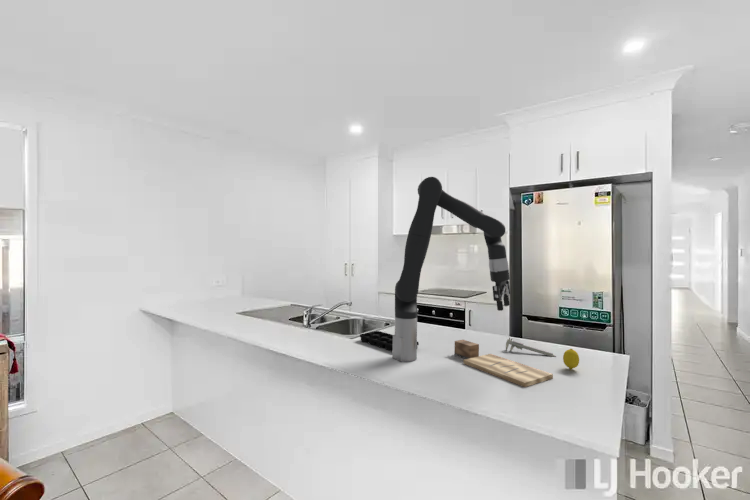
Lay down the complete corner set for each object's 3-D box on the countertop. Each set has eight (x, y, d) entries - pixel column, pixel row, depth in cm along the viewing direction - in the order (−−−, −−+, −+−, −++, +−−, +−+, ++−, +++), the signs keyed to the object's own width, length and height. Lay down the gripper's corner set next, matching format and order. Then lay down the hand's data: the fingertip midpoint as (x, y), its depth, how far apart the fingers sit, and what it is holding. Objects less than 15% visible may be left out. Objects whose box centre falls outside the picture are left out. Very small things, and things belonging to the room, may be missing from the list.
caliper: (505, 351, 167) (505, 337, 167) (505, 350, 168) (506, 336, 168) (556, 357, 158) (556, 342, 158) (556, 356, 159) (556, 342, 159)
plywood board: (524, 387, 124) (525, 382, 124) (463, 363, 148) (463, 359, 148) (552, 378, 133) (552, 374, 133) (490, 357, 156) (490, 353, 156)
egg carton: (406, 356, 157) (406, 347, 157) (351, 344, 175) (351, 336, 175) (425, 347, 172) (425, 339, 171) (373, 337, 189) (373, 329, 189)
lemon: (577, 367, 144) (578, 347, 144) (580, 372, 139) (580, 351, 139) (561, 366, 146) (562, 346, 146) (563, 370, 141) (564, 349, 141)
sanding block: (478, 358, 155) (478, 344, 155) (470, 360, 152) (470, 346, 152) (462, 353, 162) (462, 339, 162) (454, 354, 160) (454, 341, 159)
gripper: (495, 267, 161) (500, 304, 161) (484, 272, 150) (488, 311, 150) (513, 266, 157) (518, 304, 157) (502, 271, 145) (507, 312, 146)
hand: (503, 307), depth 154 cm, fingers open, 8 cm apart
